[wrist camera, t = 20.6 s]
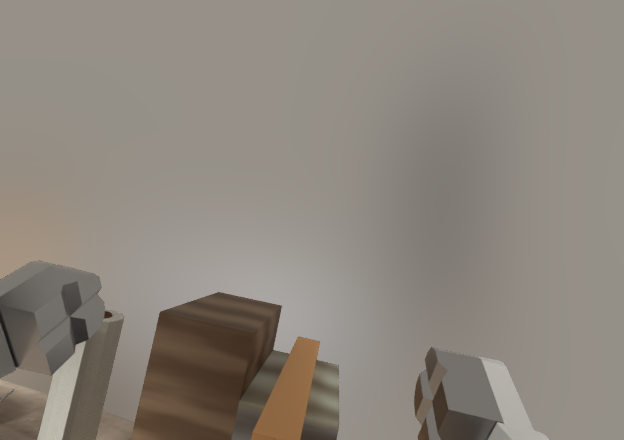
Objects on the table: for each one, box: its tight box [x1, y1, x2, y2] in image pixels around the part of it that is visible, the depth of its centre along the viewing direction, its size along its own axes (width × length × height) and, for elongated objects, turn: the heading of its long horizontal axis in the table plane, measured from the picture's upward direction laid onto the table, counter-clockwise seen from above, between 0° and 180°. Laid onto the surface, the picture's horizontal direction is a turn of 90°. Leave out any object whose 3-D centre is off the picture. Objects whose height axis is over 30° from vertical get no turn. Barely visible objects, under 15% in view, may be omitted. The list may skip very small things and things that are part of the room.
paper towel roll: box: [37, 310, 124, 440], centre depth 42 cm, size 7×6×21 cm
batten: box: [251, 337, 320, 440], centre depth 34 cm, size 25×3×2 cm, turn 175°
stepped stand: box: [131, 292, 339, 440], centre depth 38 cm, size 16×18×26 cm
